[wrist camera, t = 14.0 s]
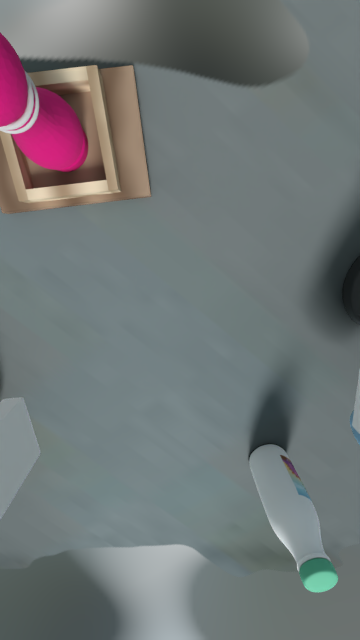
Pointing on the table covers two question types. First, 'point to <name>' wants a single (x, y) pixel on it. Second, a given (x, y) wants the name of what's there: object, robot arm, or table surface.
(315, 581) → the milk bottle
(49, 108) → the pepper mill
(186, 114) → the table surface
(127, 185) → the holder board
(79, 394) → the table surface
